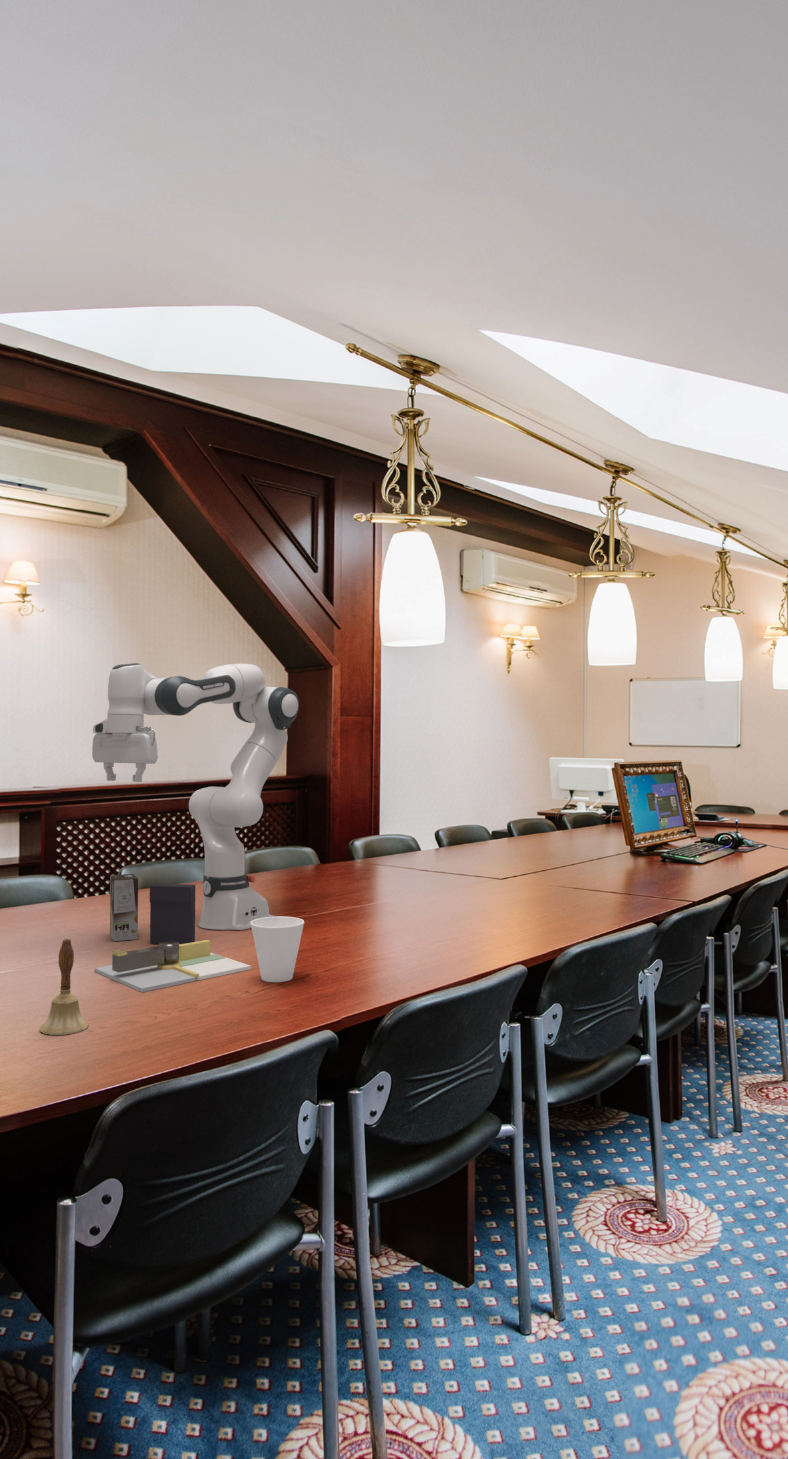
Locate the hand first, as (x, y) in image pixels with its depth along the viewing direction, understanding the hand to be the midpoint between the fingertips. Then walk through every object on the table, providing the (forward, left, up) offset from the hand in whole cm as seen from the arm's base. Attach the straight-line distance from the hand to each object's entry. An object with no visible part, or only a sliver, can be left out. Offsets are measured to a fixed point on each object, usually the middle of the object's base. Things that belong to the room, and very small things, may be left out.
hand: (124, 781), depth 219 cm
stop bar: (+8, +28, -40) cm, 49 cm away
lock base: (+2, +29, -42) cm, 51 cm away
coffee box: (-6, -10, -42) cm, 44 cm away
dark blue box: (-12, +5, -42) cm, 44 cm away
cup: (-12, +50, -42) cm, 66 cm away
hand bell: (+36, +51, -42) cm, 75 cm away
